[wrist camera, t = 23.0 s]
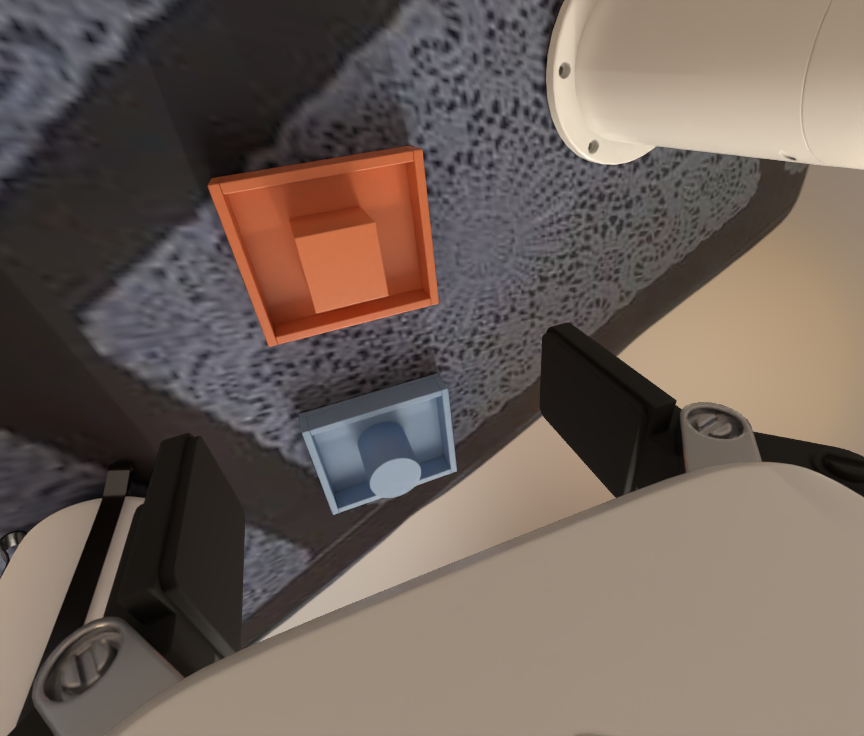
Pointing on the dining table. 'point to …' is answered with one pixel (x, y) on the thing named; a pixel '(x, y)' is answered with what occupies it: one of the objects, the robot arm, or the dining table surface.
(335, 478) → the blue tray
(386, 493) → the blue cylinder
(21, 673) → the coffee press
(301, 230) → the terracotta block
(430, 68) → the dining table surface
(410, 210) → the terracotta tray
